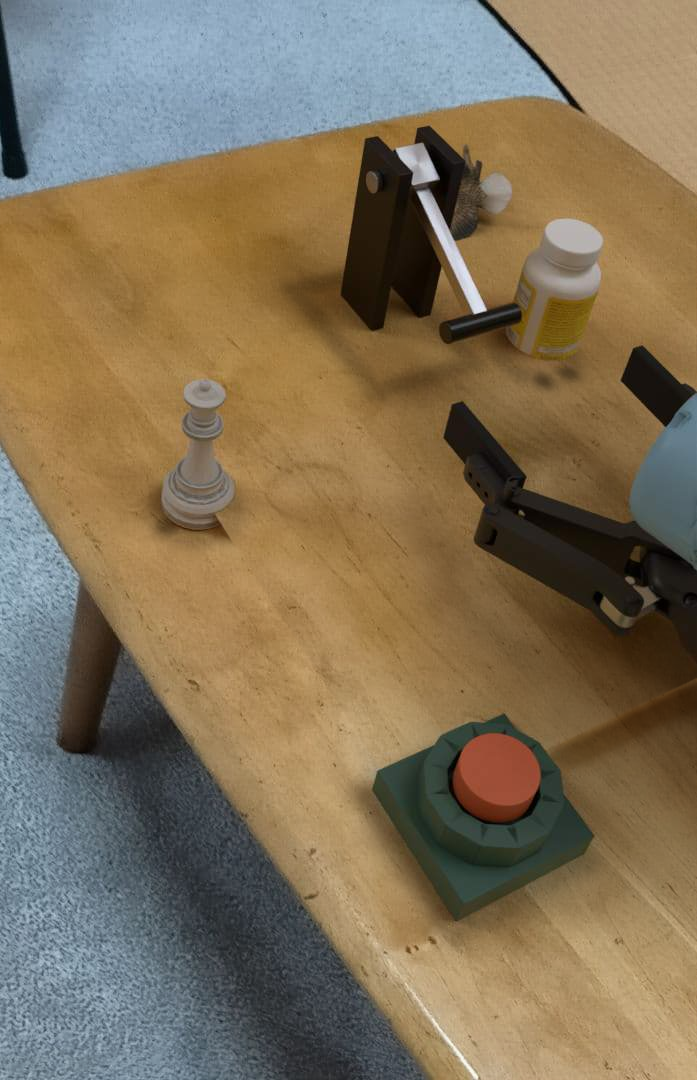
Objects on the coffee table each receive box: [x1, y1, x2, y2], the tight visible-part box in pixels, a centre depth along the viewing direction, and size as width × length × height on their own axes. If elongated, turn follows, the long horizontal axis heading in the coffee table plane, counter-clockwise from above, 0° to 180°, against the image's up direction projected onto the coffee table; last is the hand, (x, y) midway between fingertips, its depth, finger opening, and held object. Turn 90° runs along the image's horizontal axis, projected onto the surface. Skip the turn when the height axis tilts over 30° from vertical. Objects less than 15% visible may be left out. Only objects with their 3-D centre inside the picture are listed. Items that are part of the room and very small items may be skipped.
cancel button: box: [453, 733, 541, 823], centre depth 60 cm, size 4×4×2 cm
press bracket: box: [340, 125, 466, 332], centre depth 84 cm, size 12×8×14 cm, turn 30°
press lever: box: [392, 143, 522, 345], centre depth 80 cm, size 13×6×2 cm, turn 30°
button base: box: [371, 713, 595, 922], centre depth 62 cm, size 8×8×4 cm
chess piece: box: [161, 378, 235, 531], centre depth 71 cm, size 4×4×10 cm
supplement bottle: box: [505, 218, 604, 361], centre depth 86 cm, size 5×5×10 cm
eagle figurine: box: [450, 144, 514, 242], centre depth 95 cm, size 8×7×9 cm
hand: (544, 389), depth 75 cm, fingers open, 13 cm apart
